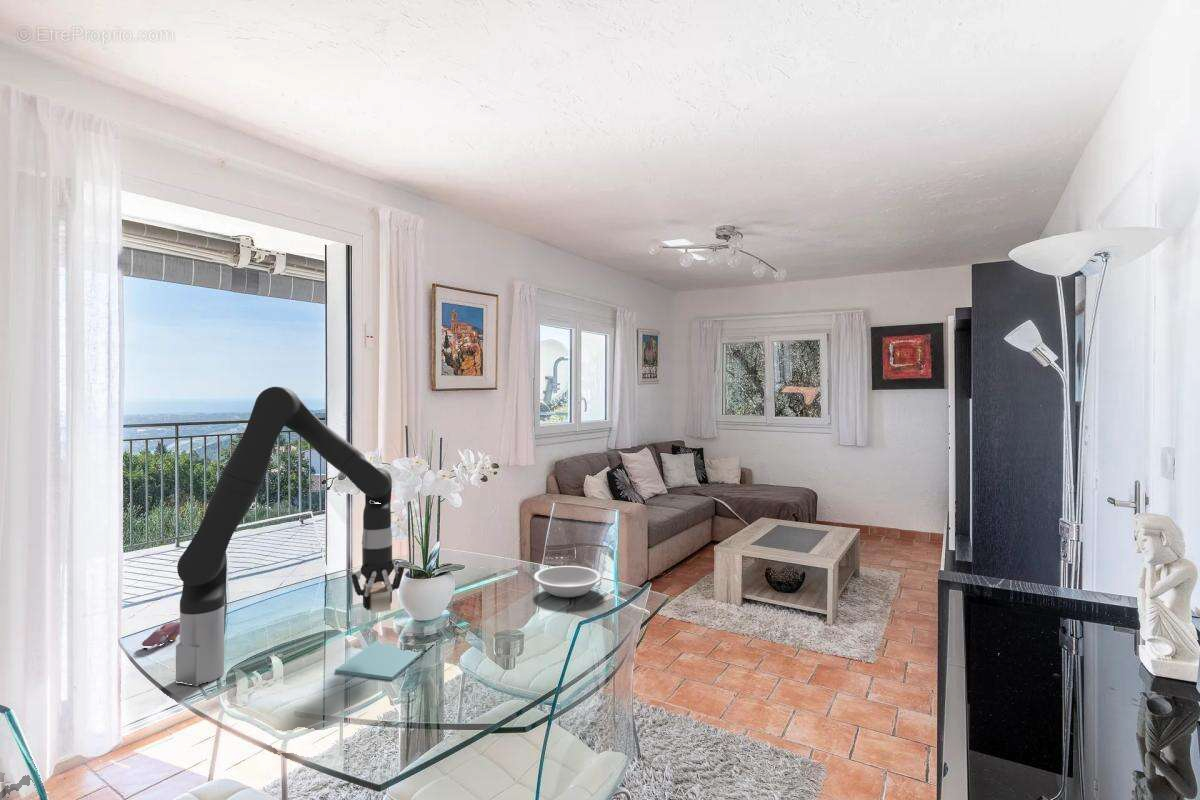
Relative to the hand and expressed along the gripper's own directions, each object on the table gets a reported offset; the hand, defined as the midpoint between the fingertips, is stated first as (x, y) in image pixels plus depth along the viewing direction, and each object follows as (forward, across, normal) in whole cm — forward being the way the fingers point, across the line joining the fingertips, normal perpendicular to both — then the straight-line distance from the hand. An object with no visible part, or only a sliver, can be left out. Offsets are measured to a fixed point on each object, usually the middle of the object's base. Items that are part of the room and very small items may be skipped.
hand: (377, 607), depth 161 cm
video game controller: (+13, -48, +39) cm, 64 cm away
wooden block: (-2, 0, +6) cm, 7 cm away
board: (+14, +2, -2) cm, 14 cm away
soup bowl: (+15, +69, +17) cm, 72 cm away
